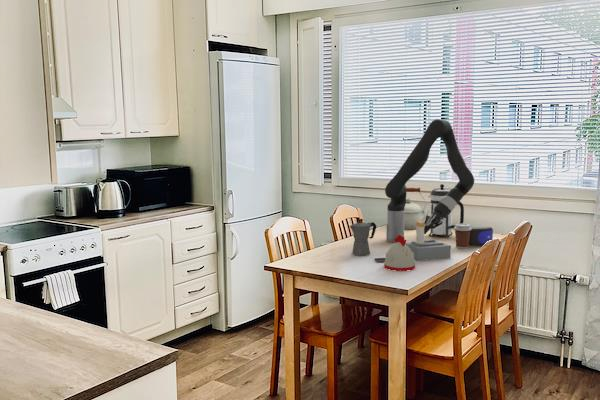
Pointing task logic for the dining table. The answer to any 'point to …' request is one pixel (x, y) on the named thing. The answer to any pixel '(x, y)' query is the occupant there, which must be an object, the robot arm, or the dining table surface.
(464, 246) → the coffee cup
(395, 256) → the cream and red dome
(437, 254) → the box
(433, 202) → the coffee press
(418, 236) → the breaker slider
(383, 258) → the cords
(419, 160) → the robot arm
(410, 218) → the kettle
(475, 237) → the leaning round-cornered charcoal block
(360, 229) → the coffeepot
